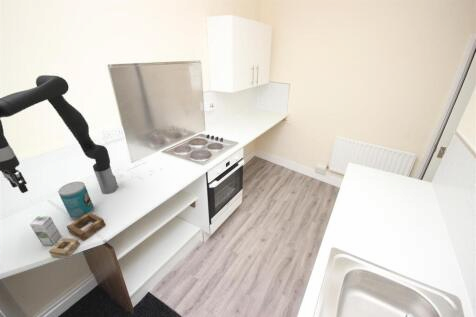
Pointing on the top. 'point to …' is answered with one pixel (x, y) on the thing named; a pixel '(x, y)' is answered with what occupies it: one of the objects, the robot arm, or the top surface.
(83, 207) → the food can
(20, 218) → the top surface
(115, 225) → the top surface
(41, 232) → the syrup box
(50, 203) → the top surface
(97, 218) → the brown wooden square frame
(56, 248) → the tan wooden square frame
